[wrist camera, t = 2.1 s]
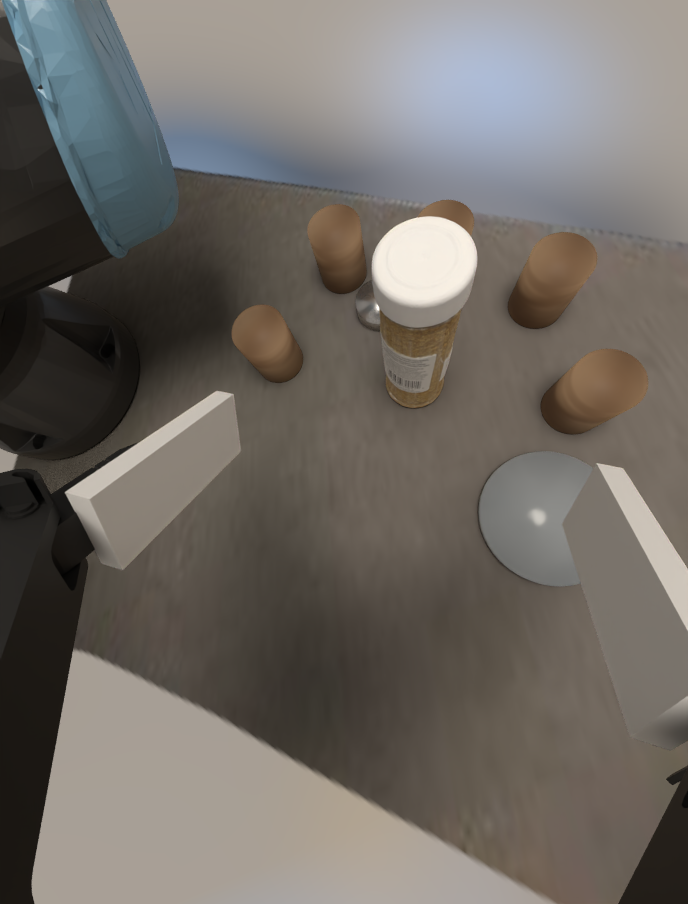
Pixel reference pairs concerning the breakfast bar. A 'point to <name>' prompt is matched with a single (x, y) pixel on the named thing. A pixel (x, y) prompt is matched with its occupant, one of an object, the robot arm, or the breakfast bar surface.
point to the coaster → (533, 515)
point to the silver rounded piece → (368, 307)
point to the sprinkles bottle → (421, 303)
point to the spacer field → (531, 305)
